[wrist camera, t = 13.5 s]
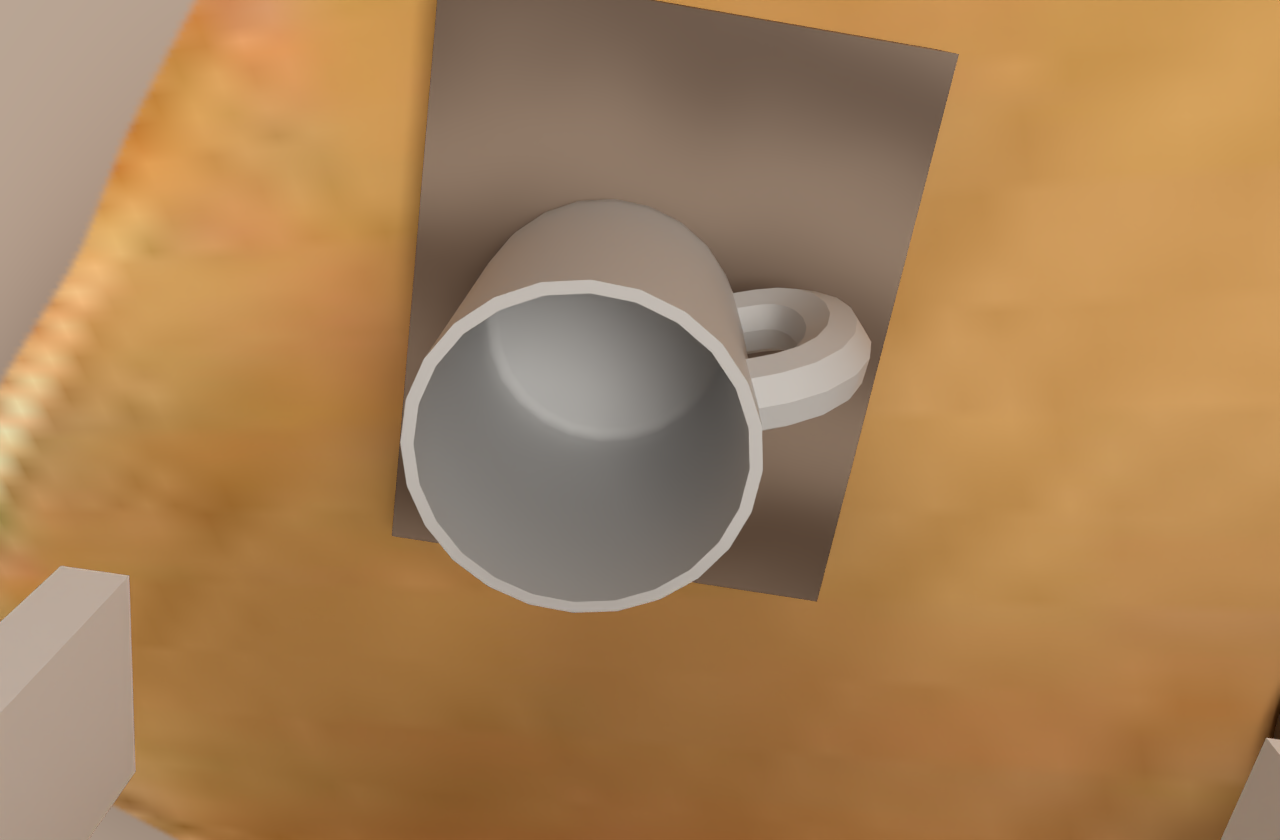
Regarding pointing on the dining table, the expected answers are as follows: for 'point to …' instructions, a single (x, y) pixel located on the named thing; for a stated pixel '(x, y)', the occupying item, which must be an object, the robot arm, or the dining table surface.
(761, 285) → the board
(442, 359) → the cup
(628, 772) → the dining table surface
